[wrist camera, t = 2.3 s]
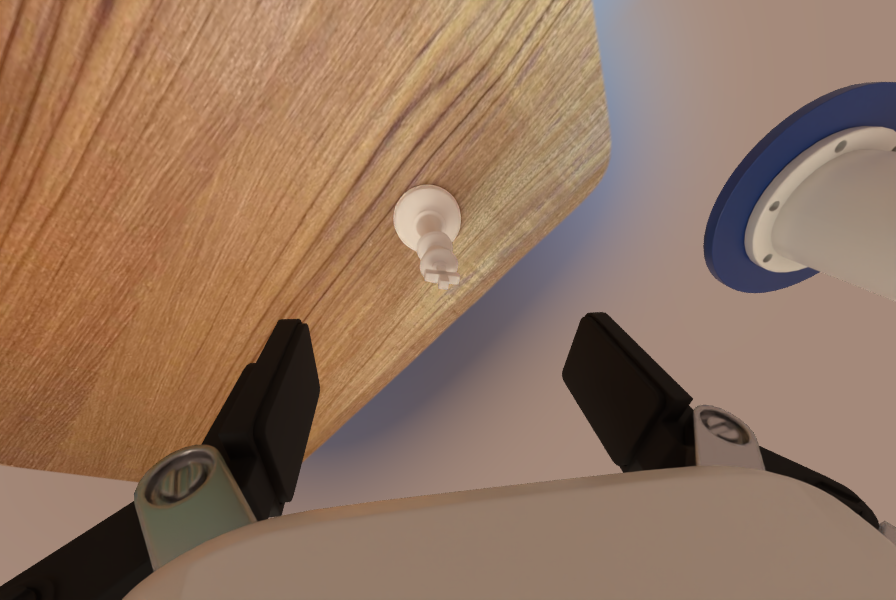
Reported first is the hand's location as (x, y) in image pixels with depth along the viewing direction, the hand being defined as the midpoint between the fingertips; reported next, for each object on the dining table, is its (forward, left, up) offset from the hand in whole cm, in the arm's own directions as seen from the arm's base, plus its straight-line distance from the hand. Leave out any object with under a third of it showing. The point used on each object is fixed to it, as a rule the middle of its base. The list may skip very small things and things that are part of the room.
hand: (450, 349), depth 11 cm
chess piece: (0, 0, -15) cm, 15 cm away
